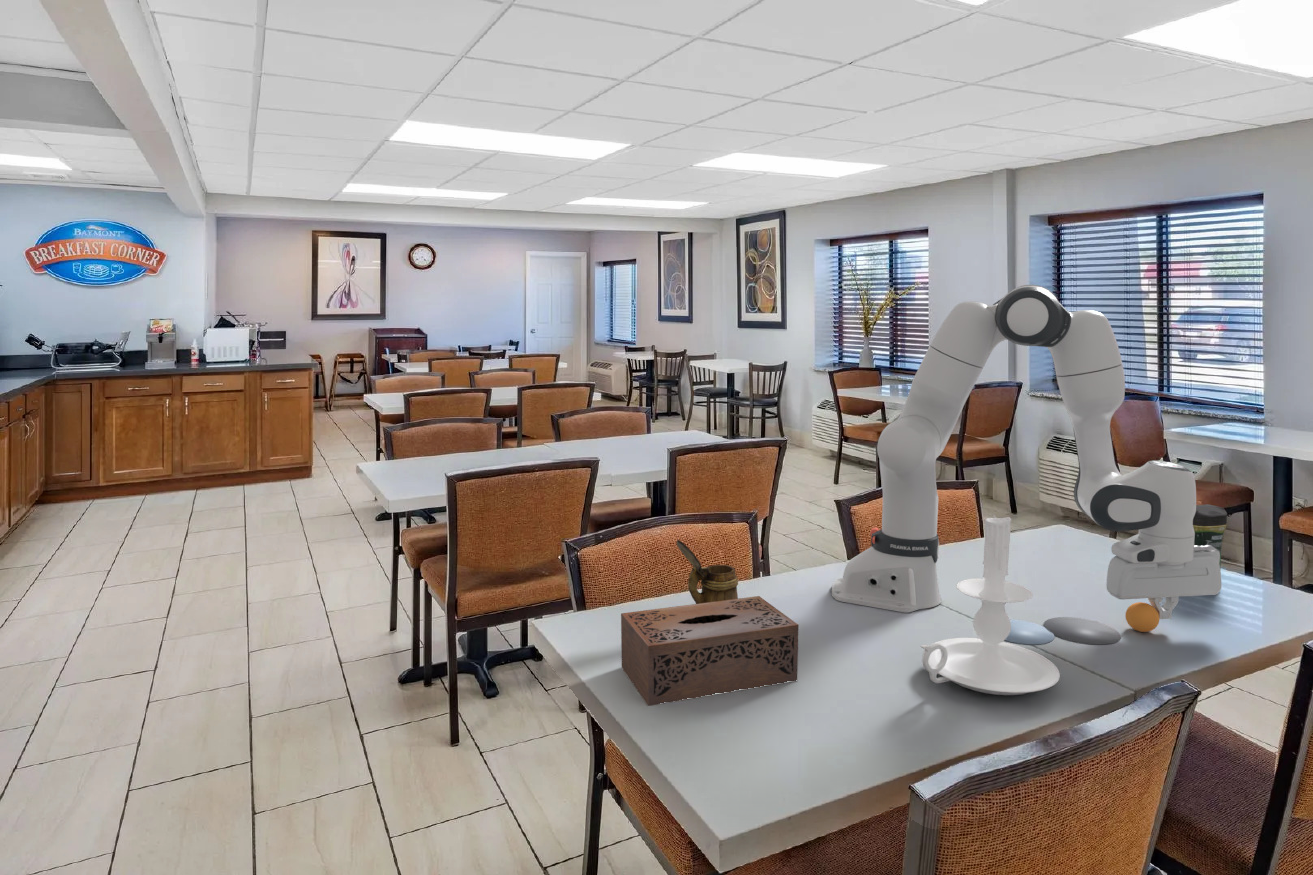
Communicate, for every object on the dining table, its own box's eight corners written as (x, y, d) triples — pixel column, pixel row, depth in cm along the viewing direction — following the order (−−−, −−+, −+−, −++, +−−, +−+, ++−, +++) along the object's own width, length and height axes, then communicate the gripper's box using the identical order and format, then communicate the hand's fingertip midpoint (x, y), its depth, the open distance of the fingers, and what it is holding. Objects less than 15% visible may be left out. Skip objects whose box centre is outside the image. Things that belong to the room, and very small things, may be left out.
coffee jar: (1192, 595, 171) (1201, 510, 168) (1160, 583, 179) (1168, 502, 176) (1227, 591, 174) (1236, 507, 171) (1194, 580, 181) (1202, 499, 178)
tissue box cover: (648, 707, 123) (648, 646, 122) (621, 669, 137) (621, 613, 135) (797, 682, 132) (798, 624, 130) (758, 648, 145) (758, 595, 144)
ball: (1141, 642, 151) (1122, 622, 150) (1135, 624, 156) (1116, 605, 155) (1169, 628, 148) (1149, 608, 148) (1161, 611, 153) (1142, 591, 153)
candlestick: (876, 671, 135) (883, 509, 131) (986, 647, 145) (995, 495, 141) (969, 728, 116) (980, 541, 112) (1088, 695, 126) (1102, 522, 122)
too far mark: (987, 639, 148) (987, 638, 148) (982, 616, 159) (982, 616, 159) (1059, 648, 144) (1059, 647, 144) (1049, 623, 155) (1049, 623, 155)
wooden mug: (667, 623, 157) (667, 533, 154) (729, 613, 162) (730, 526, 159) (686, 639, 148) (686, 545, 146) (750, 629, 153) (751, 537, 151)
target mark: (1048, 639, 148) (1048, 638, 148) (1039, 615, 160) (1039, 614, 160) (1128, 648, 144) (1128, 647, 144) (1112, 622, 156) (1112, 621, 156)
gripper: (1207, 540, 154) (1203, 609, 155) (1103, 545, 153) (1100, 614, 155) (1232, 549, 147) (1228, 621, 149) (1123, 554, 147) (1120, 627, 149)
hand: (1162, 618), depth 152 cm, fingers closed
